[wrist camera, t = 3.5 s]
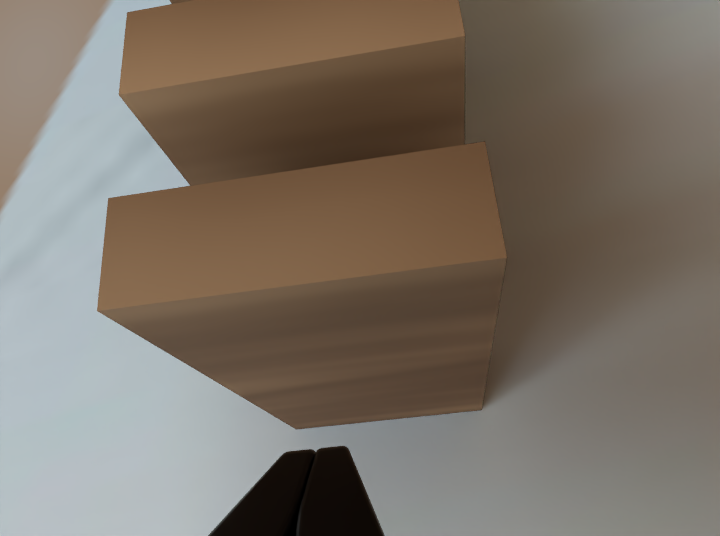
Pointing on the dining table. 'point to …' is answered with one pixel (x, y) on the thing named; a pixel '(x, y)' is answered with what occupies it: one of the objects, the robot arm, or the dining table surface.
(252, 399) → the domino
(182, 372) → the dining table surface
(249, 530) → the robot arm
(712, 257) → the dining table surface
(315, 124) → the domino
